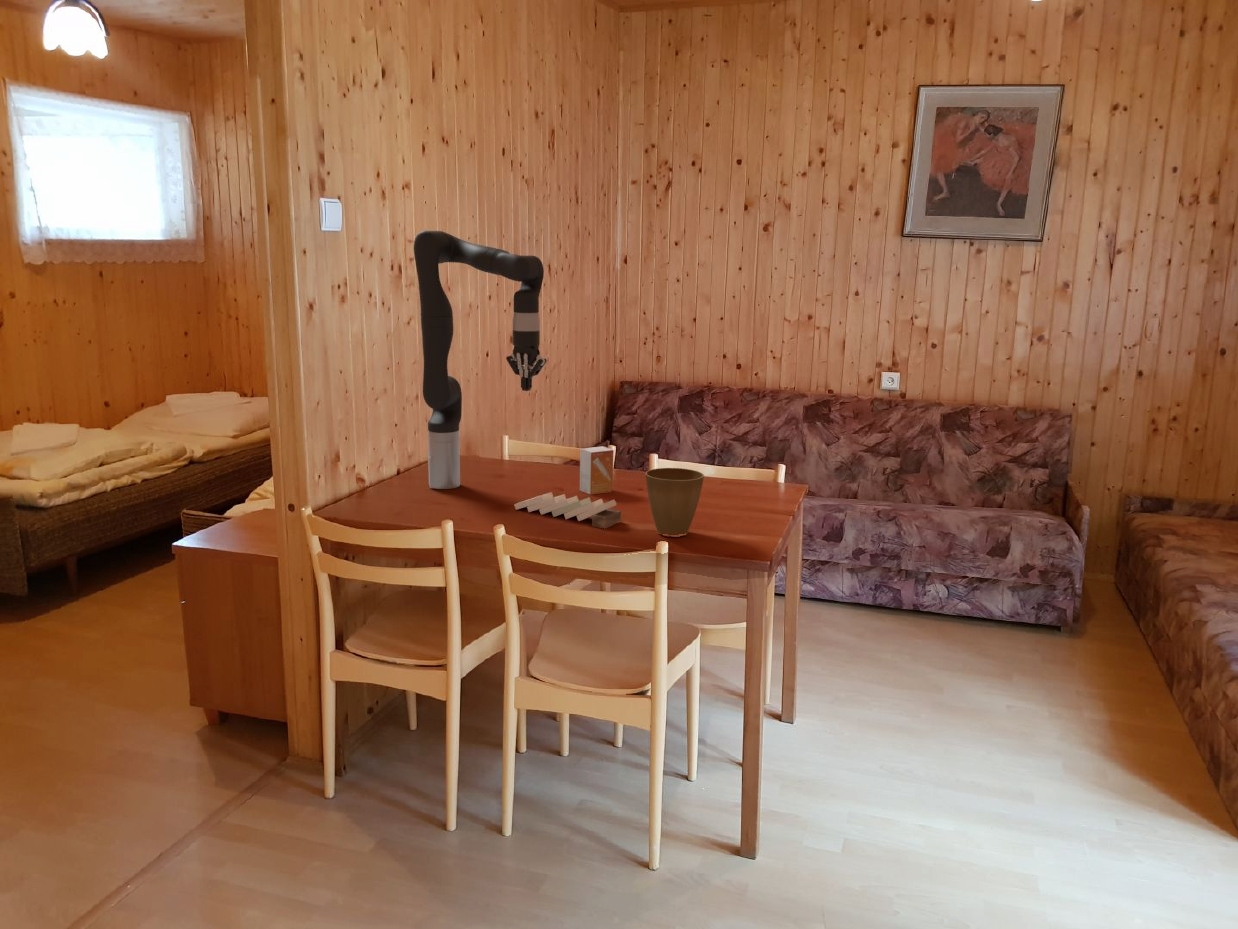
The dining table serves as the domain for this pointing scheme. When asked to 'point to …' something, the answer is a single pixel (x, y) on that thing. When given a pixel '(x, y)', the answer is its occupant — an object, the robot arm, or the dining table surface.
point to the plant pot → (673, 498)
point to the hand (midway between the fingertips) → (526, 390)
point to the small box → (596, 470)
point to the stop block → (606, 518)
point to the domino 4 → (571, 507)
